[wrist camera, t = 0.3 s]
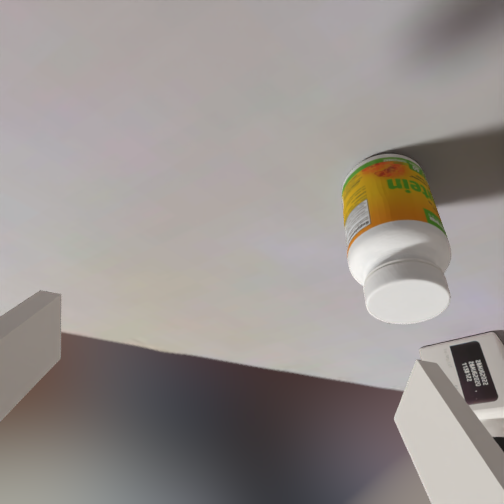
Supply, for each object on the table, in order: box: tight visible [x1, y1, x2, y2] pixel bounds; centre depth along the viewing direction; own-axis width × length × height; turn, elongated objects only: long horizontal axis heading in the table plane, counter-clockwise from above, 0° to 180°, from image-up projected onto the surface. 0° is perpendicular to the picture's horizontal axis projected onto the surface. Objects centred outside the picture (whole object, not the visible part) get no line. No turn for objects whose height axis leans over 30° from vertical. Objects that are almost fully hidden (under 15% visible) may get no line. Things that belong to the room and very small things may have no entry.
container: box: [419, 332, 504, 452], centre depth 35 cm, size 8×8×13 cm
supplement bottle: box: [342, 154, 451, 324], centre depth 21 cm, size 5×5×10 cm
